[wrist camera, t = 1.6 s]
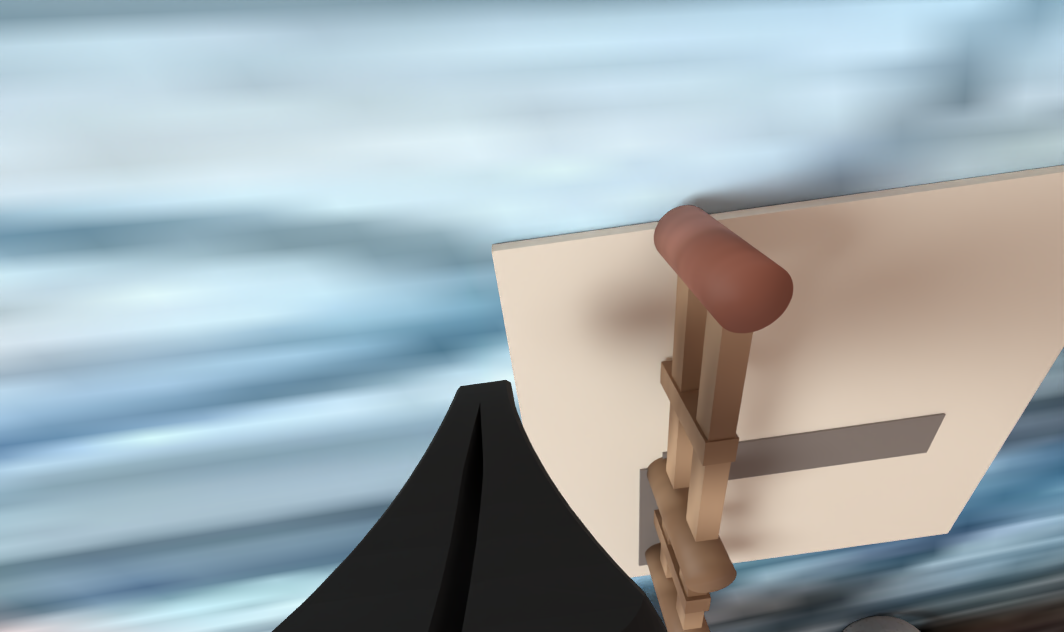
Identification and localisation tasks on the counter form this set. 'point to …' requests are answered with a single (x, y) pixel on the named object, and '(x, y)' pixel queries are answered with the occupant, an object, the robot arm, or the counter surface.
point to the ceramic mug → (881, 625)
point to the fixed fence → (682, 558)
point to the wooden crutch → (711, 351)
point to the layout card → (802, 362)
